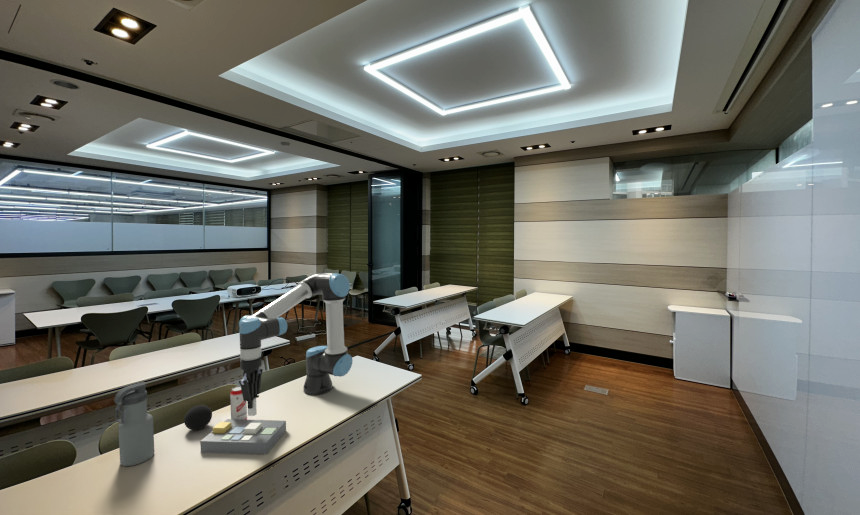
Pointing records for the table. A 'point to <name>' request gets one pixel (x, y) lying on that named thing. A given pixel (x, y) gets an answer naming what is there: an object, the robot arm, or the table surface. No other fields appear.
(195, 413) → the speaker
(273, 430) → the key sage
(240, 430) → the key slate
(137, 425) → the water bottle
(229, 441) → the keypad
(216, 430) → the key mustard
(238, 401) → the beer can
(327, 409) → the table surface
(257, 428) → the key ivory
